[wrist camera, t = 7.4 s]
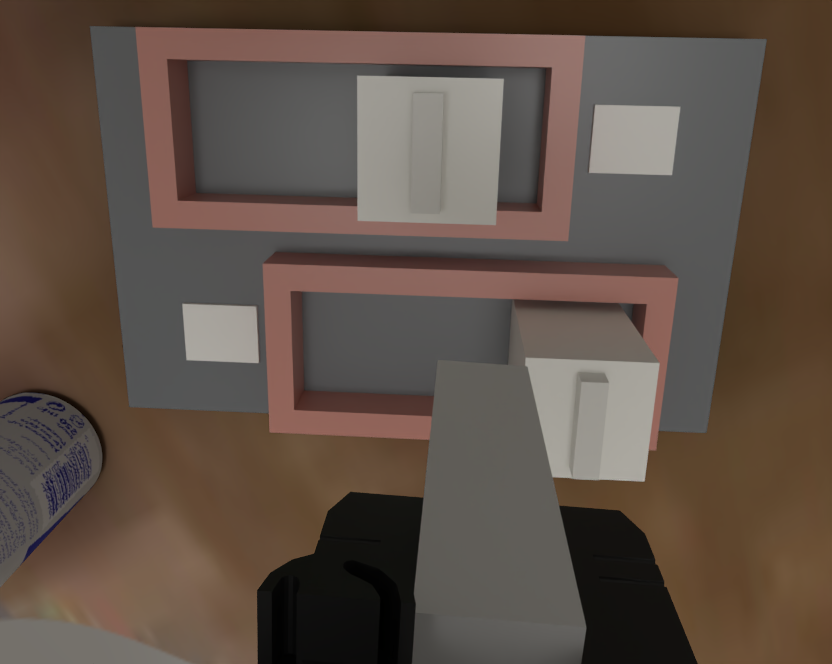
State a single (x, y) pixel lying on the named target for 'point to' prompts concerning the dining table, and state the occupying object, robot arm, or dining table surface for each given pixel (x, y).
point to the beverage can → (40, 471)
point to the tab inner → (428, 149)
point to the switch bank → (402, 241)
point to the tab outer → (587, 386)
